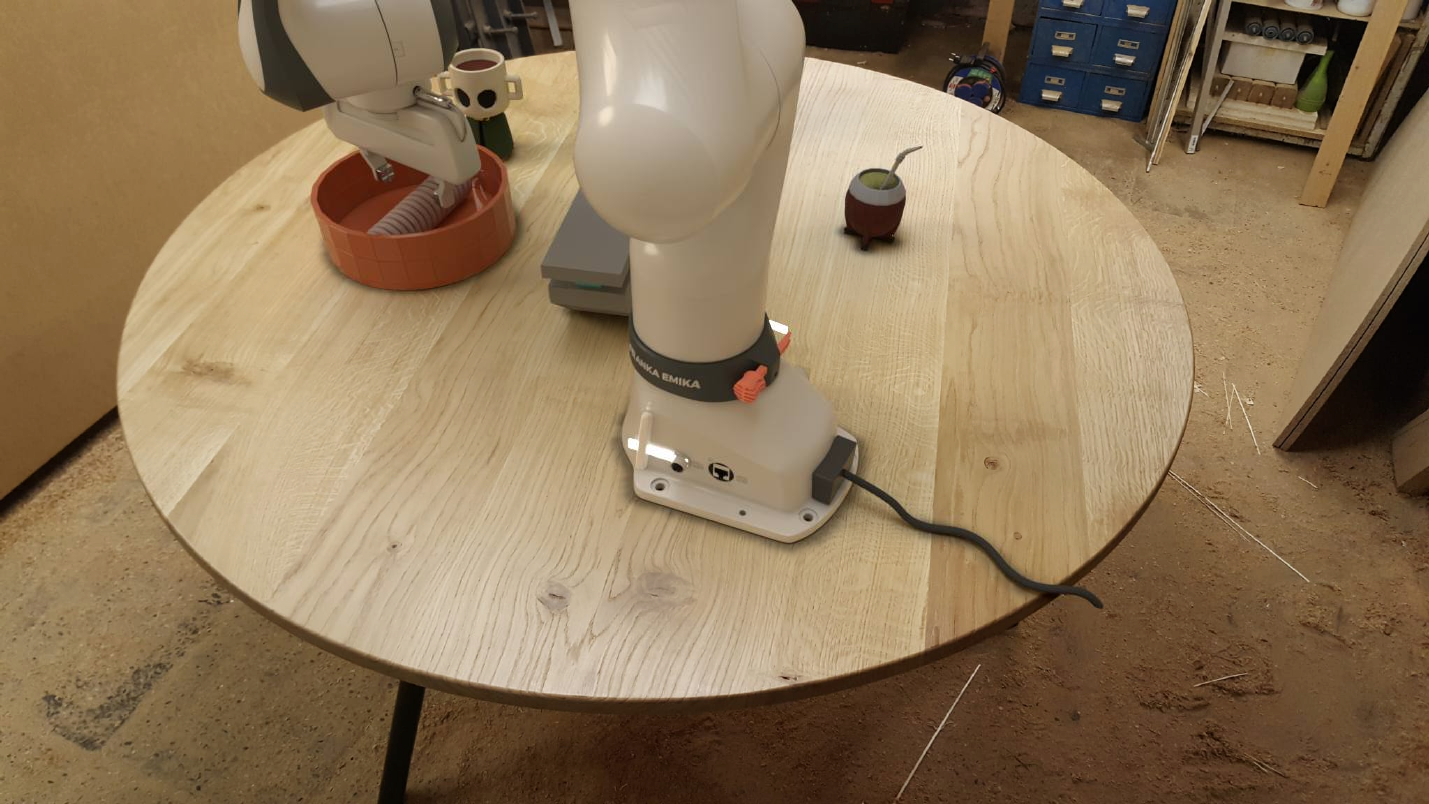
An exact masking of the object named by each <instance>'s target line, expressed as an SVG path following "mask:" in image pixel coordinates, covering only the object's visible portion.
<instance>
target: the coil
mask: <svg viewBox="0 0 1429 804" xmlns="http://www.w3.org/2000/svg"><path fill="white" fill-rule="evenodd" d="M437 189H439V183H436V182H435V178H434V176H432V175H430V176H429V177H428V179H426V180H425V181H424V182H423V183H422V184H420V185H419V186H418V187H417V188H416V189H415V190H414V191H413V192H411V193H410V194H409V196H407V197H406V198H405V199H404V200H403V201H401V202H400V203H399V205H397V206H395V207H394V209H393V210H391V211H390V212H389V213H388V214H387V215H385V216H384V218H383V219H381V220H380V221H379V222H378V223H377V224H375V225H374V226H373V228H371V229H370V230H368V232H367V233H369V234H379V235H403V234H412V233H421V232H426V231H430V230H433V229H434V228H435V227H436V226H438V225H439V223H440V222H442V221H443V220H444V218H446V217H447V216H448V214H450V213H451V212H452V211H453V210H454V209H455V208H456V207H457V206H458V205H459V204H460V203H461V202H462V201H463V200H464V199H465V198H466V197H467V196H469V194H470V193H471V191H472V181H471V179H469V180H468V181H466V182H464V183H463V184H461V185H455V187H454V189H453V193H454V198H455V202H454V204H453V205H451V206H450V207H448V208H444V207H441V206H439V205H437V204H435V202H434V200H435V199H434V198H433V194H432V192H433V191H435V190H437Z"/></svg>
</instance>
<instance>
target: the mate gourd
mask: <svg viewBox="0 0 1429 804" xmlns="http://www.w3.org/2000/svg"><path fill="white" fill-rule="evenodd" d="M923 147H924V146H923V145H919V146H914V147H909V148H906V149H905V150H903V151H902V152H899V153H898V155H897V156H896V157H895V159H894V160H895V161H894V163H893V165H892V167H891V168H890V169H885V168H881V167H871V168H867V169H863V170H860V172H858V173H857V174H856V175H855V176H854V177H853V178H852V179H851V180H850V183H849V185H848V188H847V191H846V193H845V196H844V213H843V214H844V220H845V224H846V226H845V227H844V228H843V234H846V235H849V236H855V237H858V238H859V237H860V238H862V242H861V245H860V250H861V251H864V252H867V251H868V249H869V246H870V244H871V242H872V241H879V242H882V243H888V244H894V243H895V239H896V237H895V234H896V233H897V230H898V229H899V226H900V225H901V222H902V219H903V214H904V210H905V207H906V202H907V194H906V193H907V191H906V188H905V185H904V183H903V180H902V179H901V177H900V176H899V175H898V174H897V173H896V171H897V170H898V168H899V166H900V165H901V164H902V163H903V161H904V160H905V158H906V156H908V155H909V154H911V153H914V152H916V151H918V150H921V149H923ZM892 235H893V236H892Z"/></svg>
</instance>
